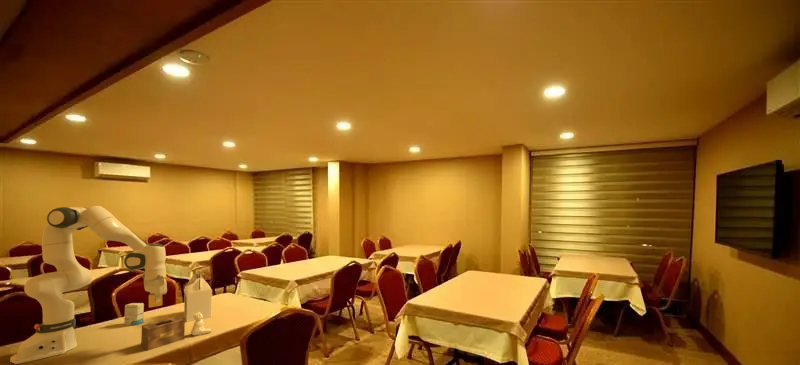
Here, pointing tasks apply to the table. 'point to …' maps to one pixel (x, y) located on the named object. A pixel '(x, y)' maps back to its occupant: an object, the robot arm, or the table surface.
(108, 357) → the table surface
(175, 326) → the coin box
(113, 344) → the table surface
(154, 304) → the token
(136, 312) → the ink box
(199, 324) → the sitting furry creature
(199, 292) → the gable box
